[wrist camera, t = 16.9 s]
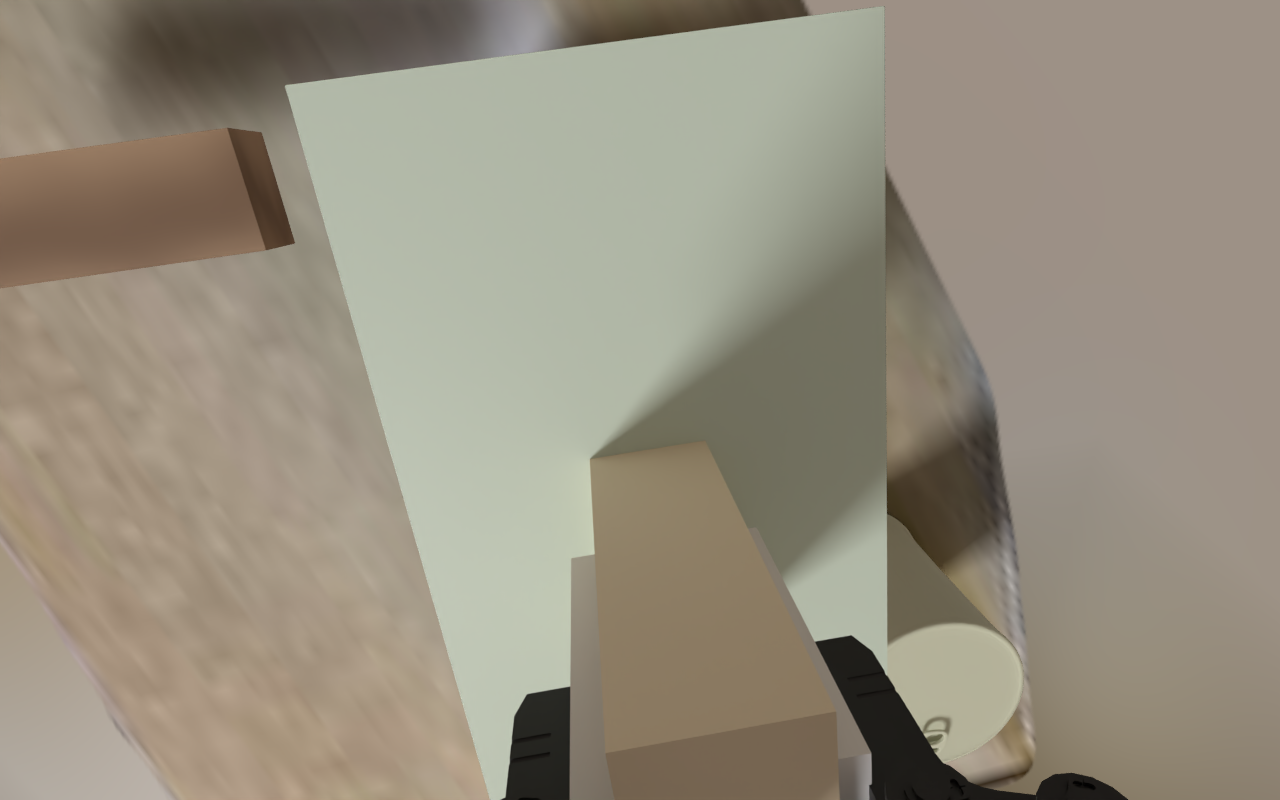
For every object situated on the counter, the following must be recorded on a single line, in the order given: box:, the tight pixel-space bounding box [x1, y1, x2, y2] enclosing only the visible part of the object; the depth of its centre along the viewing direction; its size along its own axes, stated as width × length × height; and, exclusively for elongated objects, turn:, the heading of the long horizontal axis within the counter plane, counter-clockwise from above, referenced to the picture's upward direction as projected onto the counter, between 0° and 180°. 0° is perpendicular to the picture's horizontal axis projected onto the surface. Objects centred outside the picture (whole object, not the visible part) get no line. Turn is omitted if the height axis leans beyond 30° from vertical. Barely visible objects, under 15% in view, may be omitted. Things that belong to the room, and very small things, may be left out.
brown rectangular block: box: [0, 128, 295, 288], centre depth 23 cm, size 4×16×2 cm, turn 98°
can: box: [887, 514, 1024, 763], centre depth 38 cm, size 9×9×12 cm
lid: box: [285, 6, 887, 800], centre depth 14 cm, size 21×13×10 cm, turn 8°
